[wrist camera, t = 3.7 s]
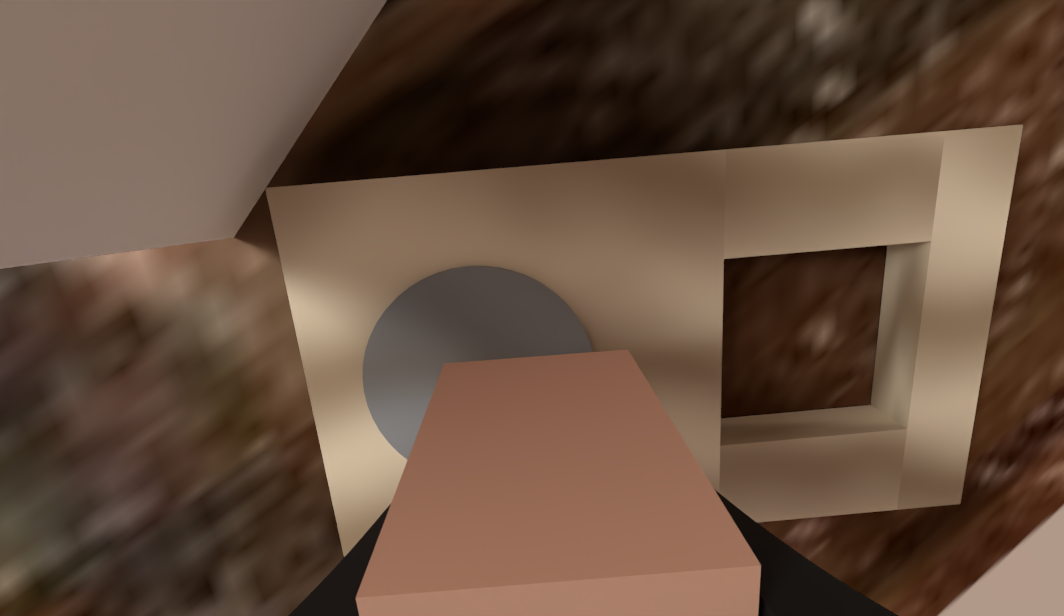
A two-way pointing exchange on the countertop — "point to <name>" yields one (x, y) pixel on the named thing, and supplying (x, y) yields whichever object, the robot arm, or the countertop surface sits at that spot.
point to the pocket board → (656, 303)
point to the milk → (154, 115)
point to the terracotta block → (555, 502)
